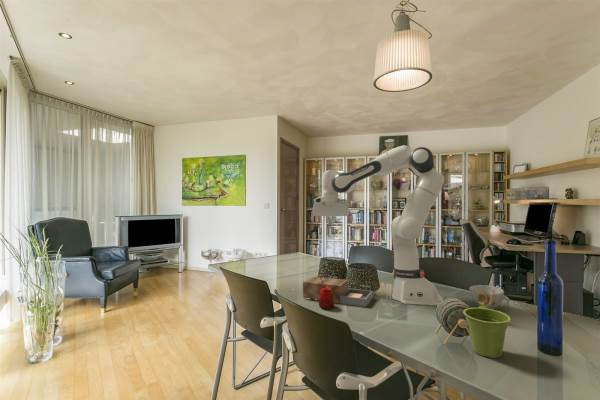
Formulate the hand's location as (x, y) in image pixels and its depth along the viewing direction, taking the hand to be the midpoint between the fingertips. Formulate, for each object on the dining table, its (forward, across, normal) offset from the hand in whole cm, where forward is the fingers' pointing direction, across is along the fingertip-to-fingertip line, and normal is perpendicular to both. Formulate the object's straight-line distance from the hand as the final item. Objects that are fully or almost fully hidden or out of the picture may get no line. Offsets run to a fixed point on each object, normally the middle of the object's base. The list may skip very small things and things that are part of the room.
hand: (330, 224), depth 163 cm
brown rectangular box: (+35, -3, +17) cm, 39 cm away
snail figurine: (+34, -70, +23) cm, 81 cm away
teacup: (+34, -73, +7) cm, 81 cm away
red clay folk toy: (+35, -8, +31) cm, 47 cm away
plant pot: (+34, -66, +51) cm, 90 cm away
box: (+34, -19, +17) cm, 43 cm away
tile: (+32, -18, +18) cm, 41 cm away
